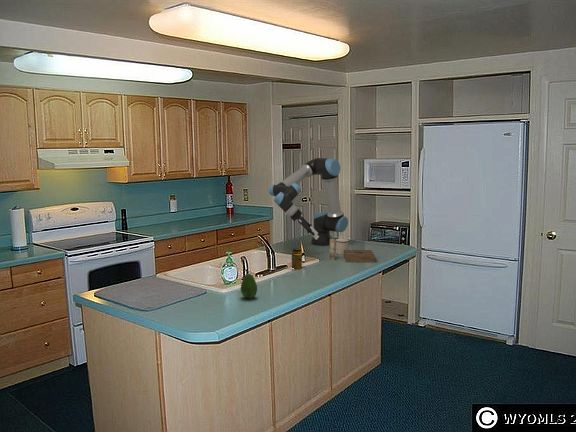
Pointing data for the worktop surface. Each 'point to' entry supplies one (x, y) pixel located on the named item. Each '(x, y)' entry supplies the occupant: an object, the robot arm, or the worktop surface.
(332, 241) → the birch pin
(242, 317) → the worktop surface
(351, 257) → the walnut hole block
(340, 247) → the teacup with lid
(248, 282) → the avocado
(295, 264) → the condiment
